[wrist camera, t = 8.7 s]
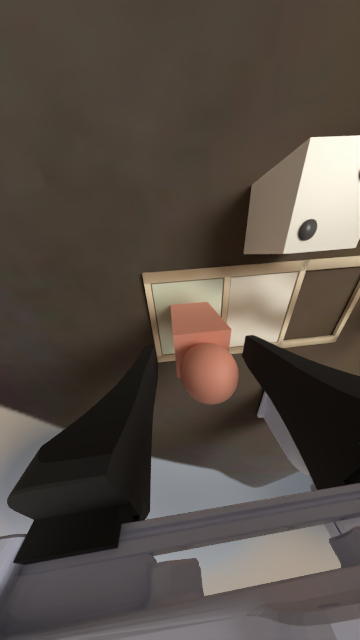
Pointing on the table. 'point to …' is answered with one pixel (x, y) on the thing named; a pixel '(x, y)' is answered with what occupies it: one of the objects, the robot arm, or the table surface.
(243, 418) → the table surface
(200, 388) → the pawn
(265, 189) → the die
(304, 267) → the board
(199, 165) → the table surface
